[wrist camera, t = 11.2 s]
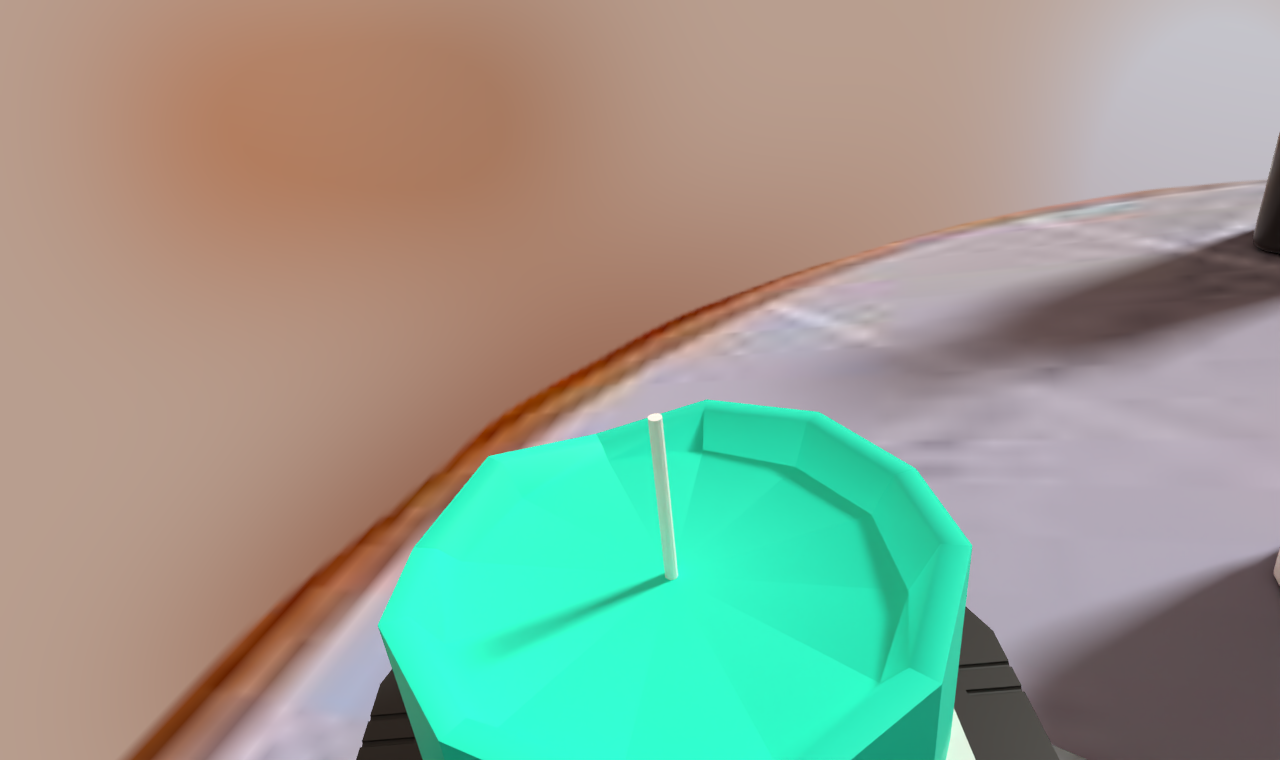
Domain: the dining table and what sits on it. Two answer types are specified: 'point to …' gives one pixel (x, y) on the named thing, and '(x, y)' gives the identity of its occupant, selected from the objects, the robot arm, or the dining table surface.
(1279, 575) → the white cup
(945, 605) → the candle
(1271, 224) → the black olive oil bottle
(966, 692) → the robot arm
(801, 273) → the dining table surface
